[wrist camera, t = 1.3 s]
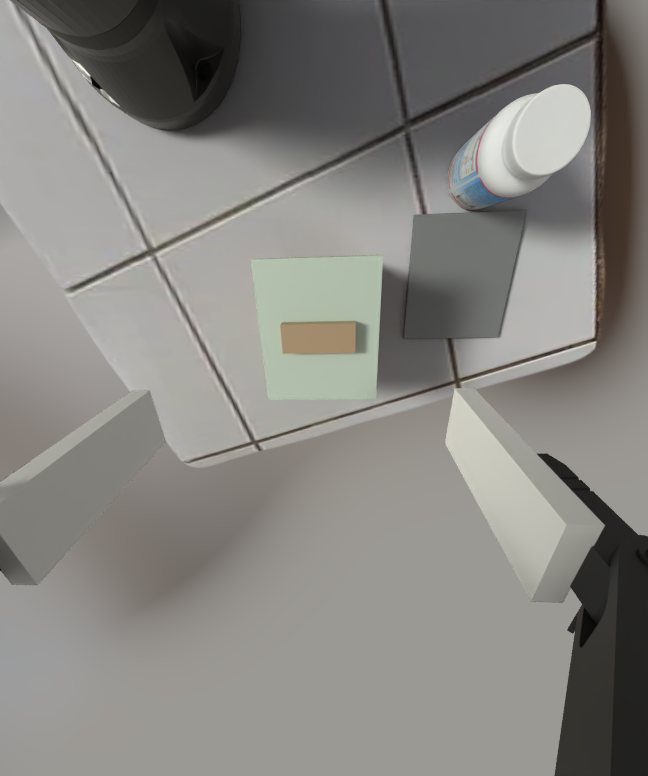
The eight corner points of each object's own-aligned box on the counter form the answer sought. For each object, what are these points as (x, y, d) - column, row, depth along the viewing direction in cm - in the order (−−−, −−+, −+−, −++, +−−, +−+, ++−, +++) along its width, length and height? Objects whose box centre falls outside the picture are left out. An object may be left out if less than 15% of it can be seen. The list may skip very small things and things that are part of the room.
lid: (258, 258, 25) (246, 260, 21) (378, 254, 24) (384, 255, 21) (273, 388, 30) (265, 404, 26) (373, 387, 29) (377, 404, 26)
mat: (413, 215, 30) (414, 214, 30) (523, 210, 30) (526, 210, 29) (403, 337, 36) (404, 338, 35) (495, 336, 35) (497, 337, 35)
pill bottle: (519, 183, 29) (616, 146, 19) (460, 223, 31) (520, 209, 20) (496, 118, 27) (592, 37, 17) (434, 164, 29) (487, 117, 18)
